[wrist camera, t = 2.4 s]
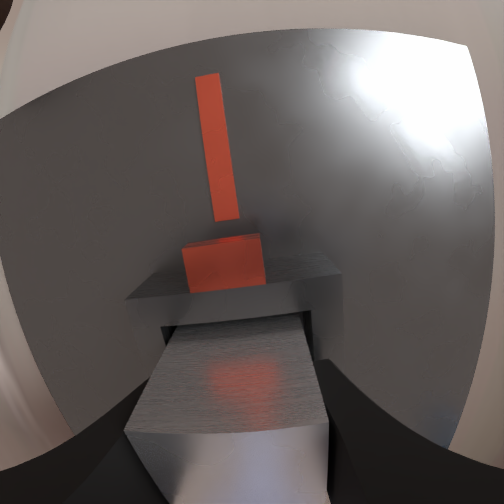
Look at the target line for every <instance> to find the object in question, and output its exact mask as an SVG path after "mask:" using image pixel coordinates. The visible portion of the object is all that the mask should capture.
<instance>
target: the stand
mask: <svg viewBox="0 0 504 504" xmlns="http://www.w3.org/2000/svg"><path fill="white" fill-rule="evenodd" d="M494 236H495V206H494V184H493V171H492V160H491V151H490V144H489V137H488V130H487V124H486V119H485V113H484V108H483V104H482V99H481V95H480V90H479V86H478V82H477V78H476V75H475V71H474V67H473V64H472V61H471V57H470V54H469V51H468V48H467V46H464V45H460V44H455V43H451V42H447V41H442V40H437V39H432V38H426V37H421V36H415V35H408V34H401V33H393V32H383V31H372V30H358V29H290V30H275V31H263V32H254V33H246V34H238V35H231V36H225V37H219V38H213V39H207V40H202V41H197V42H193V43H188V44H183V45H179V46H175V47H171V48H167V49H163V50H159V51H156V52H152V53H149V54H145V55H142V56H139V57H135V58H132V59H129V60H126V61H123V62H120V63H117V64H114V65H112V66H109V67H106V68H103V69H101V70H98V71H96V72H93V73H91V74H88V75H86V76H83V77H81V78H79V79H76V80H74V81H72V82H69V83H67V84H65V85H63V86H61V87H58V88H56V89H54V90H52V91H50V92H48V93H46V94H44V95H42V96H40V97H38V98H36V99H35V100H33V101H31V102H29V103H27V104H25V105H23V106H22V107H20V108H18V109H16V110H15V111H13V112H11V113H10V114H8V115H6V116H5V117H3V118H1V119H0V256H1V260H2V265H3V269H4V273H5V276H6V280H7V284H8V287H9V291H10V294H11V297H12V300H13V304H14V307H15V310H16V313H17V316H18V318H19V321H20V324H21V327H22V330H23V332H24V335H25V337H26V340H27V342H28V345H29V347H30V350H31V352H32V355H33V357H34V359H35V361H36V364H37V366H38V368H39V370H40V372H41V375H42V377H43V379H44V381H45V383H46V385H47V387H48V389H49V391H50V393H51V395H52V397H53V398H54V400H55V402H56V404H57V406H58V408H59V410H60V411H61V413H62V415H63V417H64V418H65V420H66V422H67V423H68V425H69V427H70V428H71V430H72V432H73V433H74V435H75V436H76V435H77V434H79V433H80V432H81V431H83V430H84V429H85V428H87V427H88V426H90V425H91V424H92V423H94V422H95V421H96V420H98V419H99V418H100V417H102V416H103V415H104V414H106V413H107V412H108V411H109V410H111V409H112V408H113V407H114V406H115V405H117V404H118V403H119V402H120V401H122V400H123V399H124V398H125V397H126V396H128V395H129V394H130V393H131V392H132V391H133V390H135V389H136V388H137V387H138V386H139V385H141V384H142V383H143V382H144V381H146V380H147V379H148V378H149V377H151V375H152V373H153V371H154V369H155V367H156V365H157V363H158V362H159V360H160V358H161V356H162V354H163V352H164V350H165V348H166V346H167V344H168V343H169V341H170V339H171V337H172V335H173V333H174V331H175V329H176V328H177V326H178V325H187V324H198V323H209V322H219V321H229V320H238V319H247V318H255V317H264V316H271V315H279V314H287V313H294V312H298V314H299V317H300V320H301V324H302V327H303V331H304V334H305V338H306V341H307V345H308V348H309V352H310V355H311V359H312V361H317V360H323V359H330V360H331V361H332V362H333V363H334V364H335V365H336V366H337V367H338V368H339V369H340V370H341V371H342V372H343V373H344V374H345V375H346V376H347V377H348V378H349V379H350V380H351V381H352V382H353V383H354V384H355V385H356V386H357V387H358V388H359V389H360V390H361V391H362V392H363V393H365V394H366V395H367V396H368V397H369V398H370V399H371V400H373V401H374V402H375V403H376V404H377V405H379V406H380V407H381V408H382V409H384V410H385V411H386V412H387V413H389V414H390V415H391V416H393V417H394V418H396V419H397V420H398V421H400V422H401V423H403V424H404V425H405V426H407V427H408V428H410V429H412V430H413V431H415V432H416V433H418V434H420V435H421V436H423V437H425V438H427V439H428V440H430V441H432V442H434V443H436V444H438V445H440V446H442V447H444V448H446V449H448V448H449V445H450V443H451V440H452V438H453V436H454V433H455V431H456V428H457V425H458V423H459V420H460V417H461V414H462V412H463V409H464V406H465V403H466V400H467V397H468V394H469V390H470V387H471V384H472V380H473V377H474V373H475V369H476V365H477V361H478V357H479V353H480V349H481V344H482V340H483V335H484V329H485V324H486V318H487V312H488V306H489V299H490V291H491V282H492V271H493V258H494Z"/></svg>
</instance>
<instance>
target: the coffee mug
mask: <svg viewBox="0 0 504 504" xmlns="http://www.w3.org/2000/svg"><path fill="white" fill-rule="evenodd" d="M12 2H13V0H0V30H1V28H2V26H3V24H4V23H5V20H6V18H7V16H8V14H9V12H10V9H11V6H12Z"/></svg>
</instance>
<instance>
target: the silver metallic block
mask: <svg viewBox="0 0 504 504" xmlns="http://www.w3.org/2000/svg"><path fill="white" fill-rule="evenodd" d="M124 432H125V434H126V436H127V437H128V439H129V441H130V443H131V445H132V446H133V448H134V450H135V452H136V453H137V455H138V457H139V458H140V460H141V462H142V463H143V465H144V466H145V468H146V470H147V471H148V473H149V474H150V476H151V477H152V479H153V480H154V482H155V483H156V485H157V486H158V488H159V489H160V491H161V492H162V494H163V495H164V496H165V498H166V499H167V501H168V502H169V503H170V504H326V491H327V472H328V445H329V420H328V417H327V413H326V409H325V405H324V402H323V398H322V394H321V391H320V387H319V384H318V380H317V376H316V373H315V369H314V366H313V362H312V359H311V355H310V352H309V348H308V345H307V341H306V338H305V334H304V331H303V327H302V324H301V320H300V317H299V314H298V312H294V313H287V314H279V315H271V316H264V317H255V318H247V319H238V320H229V321H219V322H209V323H198V324H187V325H178V326H177V328H176V329H175V331H174V333H173V335H172V337H171V339H170V341H169V343H168V344H167V346H166V348H165V350H164V352H163V354H162V356H161V358H160V360H159V362H158V363H157V365H156V367H155V369H154V371H153V373H152V375H151V377H150V379H149V381H148V383H147V385H146V387H145V389H144V391H143V393H142V395H141V397H140V398H139V400H138V402H137V404H136V406H135V408H134V410H133V412H132V414H131V416H130V418H129V420H128V422H127V424H126V426H125V428H124Z"/></svg>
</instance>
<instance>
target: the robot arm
mask: <svg viewBox="0 0 504 504" xmlns="http://www.w3.org/2000/svg"><path fill="white" fill-rule="evenodd" d="M312 362H313V366H314V369H315V373H316V376H317V380H318V384H319V387H320V391H321V394H322V398H323V402H324V405H325V409H326V413H327V417H328V420H329V445H328V472H327V492H328V496H329V499H330V502H331V504H504V469H501V468H497V467H493V466H490V465H486V464H483V463H480V462H478V461H475V460H472V459H470V458H467V457H465V456H462V455H460V454H457V453H455V452H452V451H450V450H448V449H446V448H444V447H442V446H440V445H438V444H436V443H434V442H432V441H430V440H428V439H427V438H425V437H423V436H421V435H420V434H418V433H416V432H415V431H413V430H412V429H410V428H408V427H407V426H405V425H404V424H403V423H401V422H400V421H398V420H397V419H396V418H394V417H393V416H391V415H390V414H389V413H387V412H386V411H385V410H384V409H382V408H381V407H380V406H379V405H377V404H376V403H375V402H374V401H373V400H371V399H370V398H369V397H368V396H367V395H366V394H365V393H363V392H362V391H361V390H360V389H359V388H358V387H357V386H356V385H355V384H354V383H353V382H352V381H351V380H350V379H349V378H348V377H347V376H346V375H345V374H344V373H343V372H342V371H341V370H340V369H339V368H338V367H337V366H336V365H335V364H334V363H333V362H332V361H331V360H330V359H323V360H317V361H312ZM149 379H150V377H149V378H148V379H147V380H146V381H144V382H143V383H142V384H141V385H139V386H138V387H137V388H136V389H135V390H133V391H132V392H131V393H130V394H129V395H128V396H126V397H125V398H124V399H123V400H122V401H120V402H119V403H118V404H117V405H115V406H114V407H113V408H112V409H111V410H109V411H108V412H107V413H106V414H104V415H103V416H102V417H100V418H99V419H98V420H96V421H95V422H94V423H92V424H91V425H90V426H88V427H87V428H85V429H84V430H83V431H81V432H80V433H79V434H77V435H76V436H74V437H72V438H71V439H69V440H68V441H66V442H64V443H63V444H61V445H59V446H58V447H56V448H54V449H52V450H50V451H49V452H47V453H45V454H43V455H41V456H38V457H36V458H34V459H31V460H29V461H27V462H24V463H22V464H20V465H17V466H15V467H12V468H9V469H6V470H3V471H0V504H170V503H169V502H168V501H167V499H166V498H165V496H164V495H163V494H162V492H161V491H160V489H159V488H158V486H157V485H156V483H155V482H154V480H153V479H152V477H151V476H150V474H149V473H148V471H147V470H146V468H145V466H144V465H143V463H142V462H141V460H140V458H139V457H138V455H137V453H136V452H135V450H134V448H133V446H132V445H131V443H130V441H129V439H128V437H127V436H126V434H125V432H124V428H125V426H126V424H127V422H128V420H129V418H130V416H131V414H132V412H133V410H134V408H135V406H136V404H137V402H138V400H139V398H140V397H141V395H142V393H143V391H144V389H145V387H146V385H147V383H148V381H149Z"/></svg>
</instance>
